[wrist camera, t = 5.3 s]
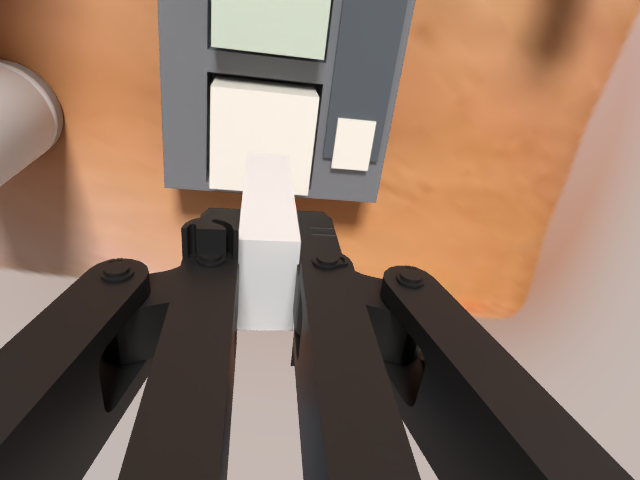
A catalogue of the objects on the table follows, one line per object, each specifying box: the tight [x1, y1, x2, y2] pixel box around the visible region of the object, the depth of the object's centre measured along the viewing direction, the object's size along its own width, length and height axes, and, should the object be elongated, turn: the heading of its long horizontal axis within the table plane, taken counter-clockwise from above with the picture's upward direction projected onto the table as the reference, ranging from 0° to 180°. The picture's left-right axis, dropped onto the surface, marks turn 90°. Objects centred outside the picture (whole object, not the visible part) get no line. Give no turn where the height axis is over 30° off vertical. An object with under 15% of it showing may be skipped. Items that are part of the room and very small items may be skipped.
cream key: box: [209, 76, 319, 196], centre depth 28 cm, size 6×6×3 cm
